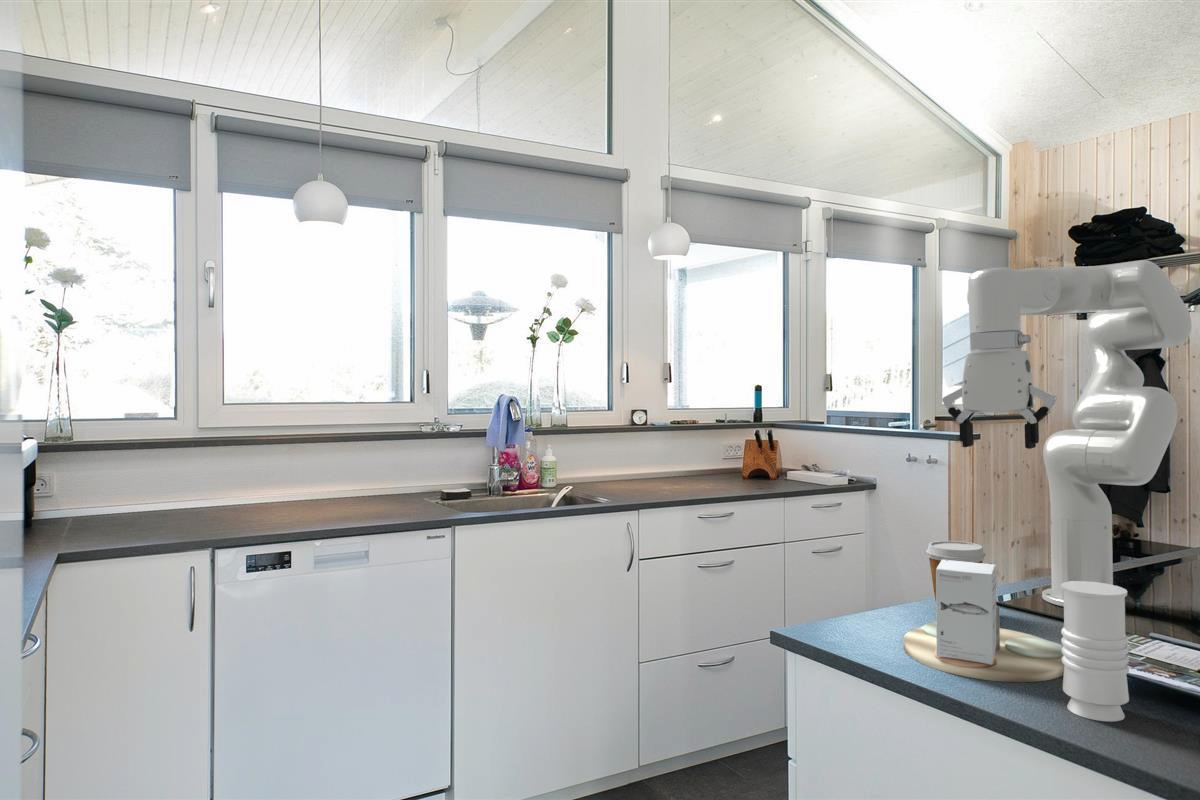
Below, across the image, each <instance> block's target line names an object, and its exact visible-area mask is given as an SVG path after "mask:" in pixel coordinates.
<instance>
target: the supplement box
mask: <svg viewBox="0 0 1200 800" xmlns="http://www.w3.org/2000/svg"><path fill="white" fill-rule="evenodd" d="M997 568H998V567H997V564H992V563H983V562H982V563H973V562H963V561H953V560H941V562H940V564H939V565H938V567H937V569H936V601H935V607H936V608H935V609H936V612H935V613H936V615H935V616H936V617H935V618H936V621H935V622H936V656H937V657H947V658H954V659H961V660H967V661H973V662H979V663H985V664H989V665H992V664H993V660H994V656H995V651H996V605H997Z"/></svg>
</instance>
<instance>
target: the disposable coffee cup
mask: <svg viewBox="0 0 1200 800" xmlns="http://www.w3.org/2000/svg"><path fill="white" fill-rule="evenodd" d="M925 552H926V554H927V557H928V559H929V566H930V574H931V578H932V579H931V580H932V581H931V582H932V587H933V592H934V593H933V594H934V599H935V602H936V569H937V567H938V565H939V564H940V562H941V560H953V561H963V562H973V563H983V561H984V560H985V558H986V556H987V555H986V553H985V551H984V547H983V546H982V545H980V544H977V543H974V542H969V541H960V540H937V541H931V542H929V543H928V546H927V549H926V550H925Z"/></svg>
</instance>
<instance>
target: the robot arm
mask: <svg viewBox="0 0 1200 800" xmlns="http://www.w3.org/2000/svg"><path fill="white" fill-rule="evenodd" d="M967 283H968V285H967V286H968V288H967V289H968V290H967V296H966V300H967V303H968V313H969V314H968V318H969V319H968V321H969V347H970V348H969V349H970V353H966V355H965V361H964V365H963V373H962V385H961V388H959V389H957V390H955V391H953V392H951V393H949V394H948V395H946V396H943V398H942V399H941V400H942V403H943V405H944V406H945V408H946V410H947V412H948V414H949V415H950V416H951V417H952V418H954V419H955V421H956V423H958V424H959V427H958V428H959V441H960V442H962V443H961V444H962V447H963V448H967V447H968V448H969V447H972V446H974V424H973V422H972V421H971V419H972V418H973V417H974V416H975V414H976V413H1017V412H1018V413H1019V414H1020V415H1021V416H1022V417H1023V418H1024V419H1025V420H1026V423H1025V424H1024V447H1025V448H1026V449H1034V448H1036V446H1037V444H1039V441H1040V433H1039V432H1040V431H1039V430H1040V429H1039V427H1040V426H1039V423H1040V422H1041V421H1042V420H1043V419H1044V418H1045V417H1046V416H1048V415H1049V414H1050V413H1051V410H1052V408H1053V407H1054V405H1055V403H1056V402H1057V399H1058V397H1057V395H1055V394H1053V393H1051V392H1048V391H1046V390H1044V389H1042V388H1040V387H1037V386H1035V385H1034V380H1033V378H1034V377H1033V372H1032V371H1033V370H1032V365H1031V360H1030V357H1029V353H1028V350H1022V348H1023V347H1024V345H1025V344H1031V343H1032V342H1031V341H1032V337H1031V335H1030V334H1025V333H1023V331H1021V328H1022V326H1021V324H1022V323H1021V316H1055V315H1069V314H1080V313H1081V314H1082V313H1083V314H1084V313H1093V314H1091V316H1089V317H1088V319H1087V322H1086V323H1085V330H1084V334H1085V335H1084V336H1085V340H1086V345H1087V350H1088V354H1089V358H1090V362H1091V366H1092V370H1091V375H1090V376H1089V379H1088V381H1087V382H1086V384H1085V387H1084V388H1083V390H1082V392H1081V394H1080V396H1079V398H1078V400H1077V403H1076V404H1075V407H1074V409H1073V412H1072V423H1073V426H1074V429H1064V430H1059V431H1056V432H1054V433H1053V434H1051V435H1050V436H1049V437H1047V439H1046V440H1045V441H1044V442H1045V443H1044V444H1043V450H1042V451H1043V452H1042V455H1043V457H1042V458H1043V462H1044V467H1045V470H1046V471H1045V472H1046V477H1047V481H1048V486H1049V488H1048V489H1049V501H1050V502H1049V504H1050V508H1049V509H1050V559H1051V564H1050V566H1051V568H1050V569H1051V571H1050V572H1051V573H1050V574H1051V587H1050V588H1046V589H1044V590H1043V591H1042V592H1041V597H1042V599H1043V600H1044V601H1045V602H1048V603H1049V604H1053V605H1056V606H1059V607H1063V608H1064V591H1063V590H1062V588H1061V584H1062V583H1064V582H1070V581H1088V582H1099V583H1105V584H1111V585H1114V576H1113V575H1114V573H1113V572H1114V571H1113V570H1114V569H1113V568H1114V567H1113V515H1112V514H1113V512H1112V505H1111V503H1110V501H1109V499H1108V497H1107V495H1106V493H1104V491H1103V490H1102V488H1101V487H1100V486H1099V484H1104V485H1115V486H1116V485H1117V486H1135V487H1136V486H1142V485H1145V484H1147V483H1149V482H1150V481H1151V480H1152V479H1153V478H1154V476H1155V475H1156V473H1157V471H1158V469H1159V467H1160V465H1161V462H1162V460H1163V457H1164V455H1165V453H1166V451H1167V448H1168V446H1169V444H1170V442H1171V439H1172V437H1173V435H1174V432H1175V429H1176V427H1177V426H1176V425H1177V422H1178V407H1177V402H1176V399H1175V398H1174V397H1173V395H1172V394H1171V393H1170V392H1168V391H1167V390H1166V389H1163V388H1160V387H1158V386H1157V387H1155V386H1143V385H1144V383H1145V377H1144V376H1145V375H1144V373H1143V372H1142V370H1141V368H1140V367H1139V365H1137V364H1136V362H1135V361H1134V360H1133V359H1131V358H1130V357H1129V356H1128V355H1127V354H1126V351H1130V350H1147V349H1152V350H1153V349H1165V348H1172V347H1173V348H1174V347H1177V346H1180V345H1182V344H1184V343H1185V342H1186V341H1187V340H1188V339H1189V337H1190V335H1191V333H1192V326H1193V325H1192V318H1191V314H1190V311H1189V310H1188V308H1187V305H1186V304H1185V302H1184V301H1183V299H1182V297H1181V296H1180V294H1179V292H1178V290H1177V289H1176V287H1175V285H1174V284H1173V282H1172V281H1171V280H1170V278H1169V276H1168V275H1167V273H1166V272H1164V270H1163V269H1162V268H1161V267H1160V266H1158V265H1157V264H1156V263H1155V262H1153V261H1150V260H1146V259H1144V260H1143V259H1141V260H1134V261H1127V262H1121V263H1113V264H1106V265H1093V266H1092V265H1088V266H1084V265H1083V266H1080V265H1079V266H1077V265H1075V266H1072V265H1071V266H1069V265H1068V266H1067V265H1066V266H1058V267H1052V268H1043V267H1030V268H1029V267H1028V268H1022V269H1014V268H1011V267H993V268H992V267H990V268H984V269H979V270H977V271H974V272H972V273H971V274H970V276H969V277H968V282H967ZM1035 397H1037V398H1038V399H1041V400H1042V401H1043V403H1042V404H1041V407H1039V409H1038V410H1037V411H1036V410H1034V406H1035V403H1036V401H1035V400H1036V399H1035ZM960 398H961V402H962V407H963V410H960V408H958V407H957V405H956V403H955V402H956V401H957V400H959V399H960Z"/></svg>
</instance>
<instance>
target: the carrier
mask: <svg viewBox="0 0 1200 800" xmlns="http://www.w3.org/2000/svg"><path fill="white" fill-rule="evenodd" d="M1063 646H1064V645H1062V644H1060V643H1057V642H1055V641H1051V640H1048V639H1045V638H1042V637H1039V636H1036V635H1032V634H1029V633H1025V632H1021V631H1017V630H1012V629H1007V628H1002V627H1000V606H999V605H997V604H996V651H995V656H994V660H993V664H992V665H989V664H985V663H979V662H973V661H967V660H961V659H954V658H947V657H937V656H936V621H933V622H932V621H931V622H927V623H924V624H923V625H922V626H920V627H916V628H914V629H912V630H911V629H910V630H909V631H908V632H906V633H905V634H904V636H903V649H904V651H905V654H907V655H908V656H909V657H910V658H912V660H915V661H916V662H918V663H920V664H922V665H924V666H927V667H929V668H932V669H935V670H938V671H940V672H944V673H949V674H952V675H956V676H960V677H964V678H965V677H966V678H969V679H970V678H972V679H977V680H983V681H992V682H993V681H994V682H1003V683H1004V682H1006V683H1032V682H1033V683H1034V682H1044V681H1051V680H1055V679H1057V678H1058V679H1059V678H1061V677H1064V664H1063V663H1062V657H1063V654H1062V647H1063Z"/></svg>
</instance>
